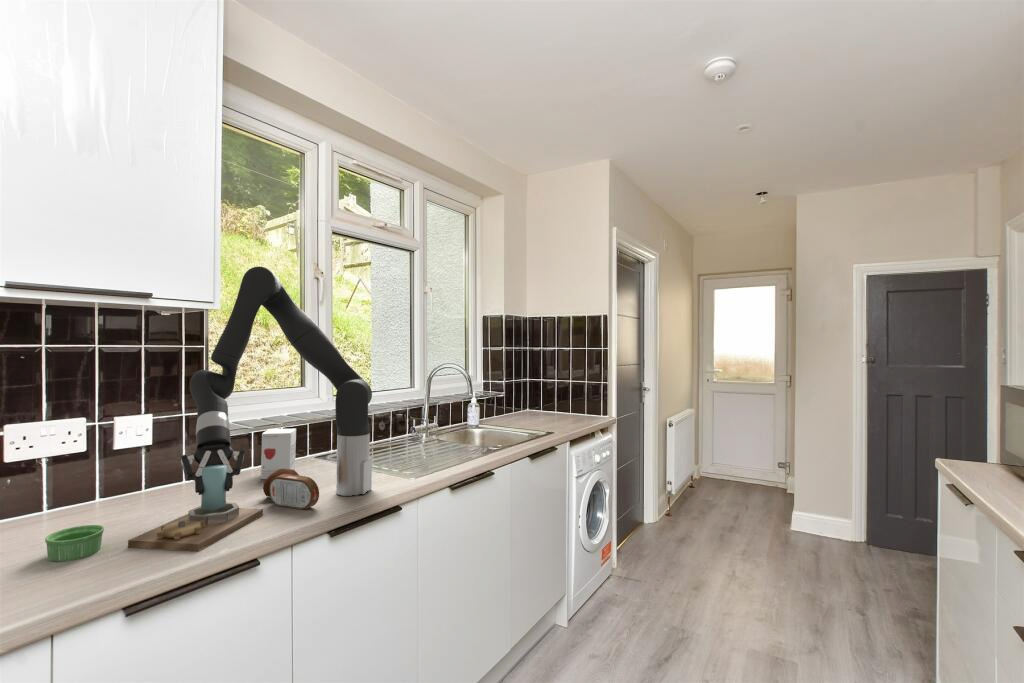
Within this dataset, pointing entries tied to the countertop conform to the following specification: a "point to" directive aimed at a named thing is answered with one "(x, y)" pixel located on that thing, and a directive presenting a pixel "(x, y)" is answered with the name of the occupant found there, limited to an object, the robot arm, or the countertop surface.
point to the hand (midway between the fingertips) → (214, 491)
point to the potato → (275, 474)
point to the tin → (294, 491)
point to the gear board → (196, 528)
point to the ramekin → (74, 543)
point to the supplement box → (277, 451)
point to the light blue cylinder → (213, 487)
